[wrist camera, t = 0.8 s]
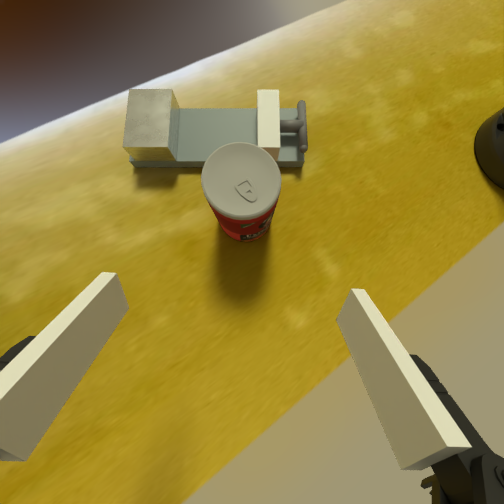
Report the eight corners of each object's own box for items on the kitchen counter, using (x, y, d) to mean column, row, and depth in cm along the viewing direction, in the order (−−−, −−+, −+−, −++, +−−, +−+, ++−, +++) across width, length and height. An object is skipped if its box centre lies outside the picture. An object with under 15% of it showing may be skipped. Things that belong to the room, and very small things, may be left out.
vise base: (300, 116, 32) (307, 89, 28) (302, 167, 31) (311, 147, 26) (140, 116, 32) (122, 89, 28) (135, 167, 31) (115, 147, 26)
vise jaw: (179, 108, 31) (172, 89, 28) (176, 160, 29) (167, 146, 26) (141, 108, 31) (129, 89, 28) (135, 160, 29) (122, 146, 26)
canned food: (248, 253, 29) (245, 234, 18) (208, 218, 30) (182, 180, 19) (282, 215, 30) (299, 175, 19) (242, 182, 30) (236, 126, 20)
